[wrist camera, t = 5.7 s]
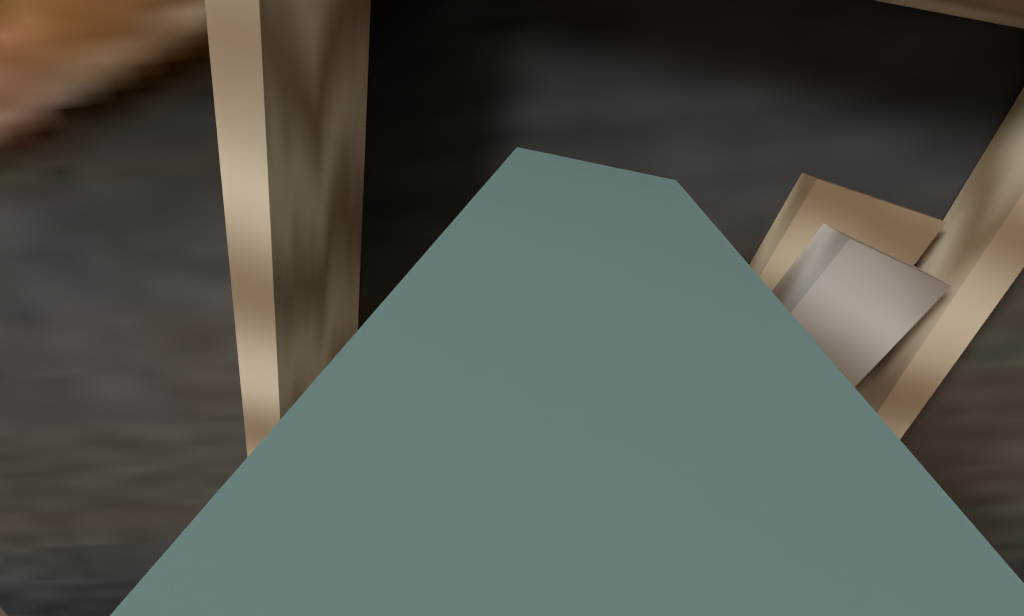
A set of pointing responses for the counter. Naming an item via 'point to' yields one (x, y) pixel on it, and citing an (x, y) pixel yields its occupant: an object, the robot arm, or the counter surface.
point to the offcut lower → (840, 226)
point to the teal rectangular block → (580, 442)
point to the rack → (339, 204)
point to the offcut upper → (855, 299)
